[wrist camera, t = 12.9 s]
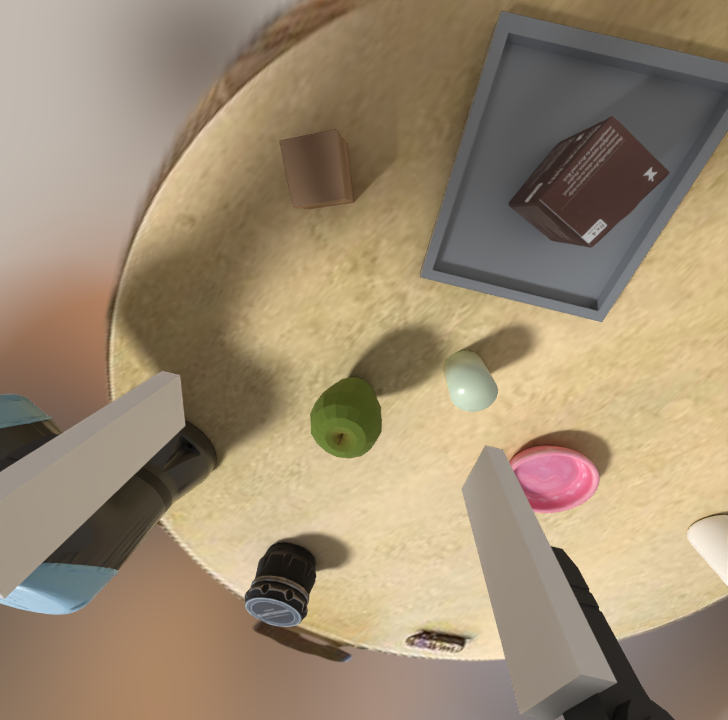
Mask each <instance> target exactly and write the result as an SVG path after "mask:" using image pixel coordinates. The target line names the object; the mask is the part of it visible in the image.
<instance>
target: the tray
mask: <svg viewBox="0 0 728 720" xmlns="http://www.w3.org/2000/svg"><path fill="white" fill-rule="evenodd" d="M611 116H614V117H615V118H616V119H617V120H618V121H619V122H620V123H622V125H623V126H624V127H625V128H626V129H627V130H628V131H629V132H630V133H631V134H632V135H633V136H634V137H635V138H636V139H637V140H638V141H639V142H640V143H641V144H642V145H643V146H644V147H645V148H646V149H647V150H648V151H649V152H650V153H651V154H652V155H653V156H654V157H655V158H656V159H657V160H658V161H659V162H660V163H661V164H662V165H663V166H664V167H665V168H666V169H667V170H668V171H669V172H670V173H669V174H668V176H667V177H666V178H665V179H664V180H663V181H662V182H661V183H660V184H659V185H657V186H656V187H655V188H654V189H653V190H652V191H651V192H650V193H649V194H648V195H647V196H646V197H645V198H644V199H643V200H642V201H641V202H640V203H639V204H638V205H637V206H636V208H635V209H634V210H633V211H632V212H631V213H630V214H629V215H628V216H626V217H625V218H624V219H622V220H621V221H620V222H619V223H618V224H617V225H616V226H615V227H613V229H612V230H610V231H609V233H607V234H606V235H605V236H604V237H603V238H602V239H601V240H600V241H599V242H598V243H597V244H596V245H595V246H594V247H592V248H590V247H585V246H579V245H573V244H567V243H561V242H554V241H551V240H549V239H548V238H547V237H545V236H544V235H543V234H542V233H541V232H540V231H539V230H537V229H536V228H535V227H534V226H533V225H532V224H530V223H529V222H528V221H527V220H526V219H524V218H523V217H522V216H521V215H520V214H518V213H517V212H516V211H515V210H513V209H512V208H511V207H510V206H509V202H510V201H511V199H512V198H513V197H514V196H515V195H516V193H517V192H518V191H519V189H520V188H521V187H522V186H523V184H524V183H525V182H526V181H527V179H528V178H529V177H530V176H531V175H532V173H533V172H534V171H535V170H536V169H537V167H538V166H539V165H540V164H541V163H542V162H543V160H544V159H545V158H546V157H547V156H548V154H549V153H550V152H551V151H552V150H553V148H554V147H555V146H556V145H557V144H558V143H559V142H560V141H563V140H565V139H567V138H569V137H571V136H573V135H575V134H577V133H579V132H581V131H583V130H585V129H587V128H589V127H591V126H593V125H595V124H597V123H599V122H601V121H604V120H606V119H607V118H609V117H611ZM727 131H728V63H726V62H721V61H717V60H713V59H708V58H704V57H700V56H695V55H691V54H687V53H682V52H678V51H674V50H669V49H665V48H661V47H656V46H652V45H648V44H643V43H639V42H635V41H630V40H626V39H621V38H617V37H613V36H608V35H604V34H600V33H595V32H591V31H587V30H582V29H578V28H574V27H569V26H565V25H561V24H556V23H552V22H548V21H543V20H539V19H535V18H530V17H526V16H522V15H517V14H513V13H509V12H504V11H501V13H500V15H499V18H498V20H497V22H496V24H495V26H494V30H493V33H492V36H491V40H490V43H489V46H488V50H487V53H486V56H485V60H484V63H483V66H482V69H481V73H480V76H479V79H478V83H477V86H476V89H475V93H474V96H473V99H472V103H471V106H470V109H469V112H468V116H467V119H466V122H465V126H464V129H463V132H462V136H461V139H460V142H459V146H458V149H457V152H456V156H455V159H454V162H453V165H452V169H451V172H450V175H449V179H448V182H447V185H446V189H445V192H444V195H443V199H442V202H441V205H440V209H439V212H438V215H437V218H436V222H435V225H434V228H433V232H432V235H431V238H430V242H429V245H428V248H427V252H426V255H425V258H424V261H423V265H422V268H421V271H420V277H422V278H426V279H430V280H434V281H438V282H442V283H446V284H450V285H454V286H458V287H462V288H466V289H470V290H474V291H478V292H482V293H486V294H490V295H494V296H498V297H502V298H506V299H510V300H514V301H518V302H522V303H526V304H531V305H535V306H539V307H543V308H547V309H551V310H555V311H559V312H563V313H567V314H571V315H575V316H579V317H583V318H587V319H591V320H595V321H599V322H602V321H603V320H604V318H605V317H606V315H607V314H608V312H609V311H610V309H611V308H612V306H613V305H614V303H615V302H616V300H617V299H618V297H619V295H620V294H621V292H622V291H623V289H624V288H625V286H626V285H627V283H628V282H629V280H630V279H631V277H632V276H633V274H634V273H635V271H636V270H637V268H638V267H639V265H640V263H641V262H642V260H643V259H644V257H645V256H646V254H647V253H648V251H649V250H650V248H651V247H652V245H653V244H654V242H655V241H656V239H657V238H658V236H659V234H660V233H661V231H662V230H663V228H664V227H665V225H666V224H667V222H668V221H669V219H670V218H671V216H672V215H673V213H674V212H675V210H676V209H677V207H678V206H679V204H680V202H681V201H682V199H683V198H684V196H685V195H686V193H687V192H688V190H689V189H690V187H691V186H692V184H693V183H694V181H695V180H696V178H697V177H698V175H699V173H700V172H701V170H702V169H703V167H704V166H705V164H706V163H707V161H708V160H709V158H710V157H711V155H712V154H713V152H714V151H715V149H716V148H717V146H718V144H719V143H720V141H721V140H722V138H723V137H724V135H725V134H726V132H727Z"/></svg>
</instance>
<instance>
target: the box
mask: <svg viewBox="0 0 728 720" xmlns="http://www.w3.org/2000/svg"><path fill="white" fill-rule="evenodd" d="M669 173H670V172H669V171H668V170H667V169H666V168H665V167H664V166H663V165H662V164H661V163H660V162H659V161H658V160H657V159H656V158H655V157H654V156H653V155H652V154H651V153H650V152H649V151H648V150H647V149H646V148H645V147H644V146H643V145H642V144H641V143H640V142H639V141H638V140H637V139H636V138H635V137H634V136H633V135H632V134H631V133H630V132H629V131H628V130H627V129H626V128H625V127H624V126H623V125H622V123H620V122H619V121H618V120H617V119H616V118H615V117H614V116H611V117H609V118H607V119H606V120H604V121H601V122H599V123H597V124H595V125H593V126H591V127H589V128H587V129H585V130H583V131H581V132H579V133H577V134H575V135H573V136H571V137H569V138H567V139H565V140H563V141H560V142H559V143H558V144H557V145H556V146H555V147H554V148H553V150H552V151H551V152H550V153H549V154H548V156H547V157H546V158H545V159H544V160H543V162H542V163H541V164H540V165H539V166H538V167H537V169H536V170H535V171H534V172H533V173H532V175H531V176H530V177H529V178H528V179H527V181H526V182H525V183H524V184H523V186H522V187H521V188H520V189H519V191H518V192H517V193H516V195H515V196H514V197H513V198H512V199H511V201H510V202H509V206H510V207H511V208H512V209H513V210H515V211H516V212H517V213H518V214H520V215H521V216H522V217H523V218H524V219H526V220H527V221H528V222H529V223H530V224H532V225H533V226H534V227H535V228H536V229H537V230H539V231H540V232H541V233H542V234H543V235H544V236H545V237H547V238H548V239H549V240H551V241H554V242H561V243H567V244H573V245H579V246H585V247H590V248H592V247H594V246H595V245H596V244H597V243H598V242H599V241H600V240H601V239H602V238H603V237H604V236H605V235H606V234H607V233H609V231H610V230H612V229H613V227H615V226H616V225H617V224H618V223H619V222H620V221H621V220H622V219H624V218H625V217H626V216H628V215H629V214H630V213H631V212H632V211H633V210H634V209H635V208H636V206H637V205H638V204H639V203H640V202H641V201H642V200H643V199H644V198H645V197H646V196H647V195H648V194H649V193H650V192H651V191H652V190H653V189H654V188H655V187H656V186H657V185H659V184H660V183H661V182H662V181H663V180H664V179H665V178H666V177H667V176H668V174H669Z"/></svg>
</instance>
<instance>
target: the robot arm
mask: <svg viewBox="0 0 728 720" xmlns="http://www.w3.org/2000/svg"><path fill="white" fill-rule="evenodd" d="M52 419H53V418H52V417H51V416H47V415H46V414H45V413H44V412H43V411H42V410H40V409H39V408H38V407H37V406H36V405H34V404H33V403H32V402H31V401H30V400H29V399H27V398H26V397H24V396H21V395H16V394H3V395H0V603H1V604H4V605H8V606H11V607H15V608H19V609H23V610H28V611H33V612H38V613H45V614H68V613H72V612H75V611H78V610H80V609H81V608H83V607H85V606H86V605H87V604H88V603H90V602H91V601H92V600H93V599H94V598H95V596H96V595H97V594H98V593H99V592H100V591H101V590H102V589H103V588H104V587H105V585H106V584H107V583H108V582H109V581H110V580H111V579H112V578H113V577H114V576H116V574H117V573H118V572H119V571H118V570H119V569H120V568H121V567H122V565H123V564H124V562H126V561H127V559H128V558H129V557H130V556H131V554H132V553H133V552H134V550H135V549H136V548H137V547H138V546H139V544H140V543H141V542H142V541H143V540H144V538H145V537H146V536H147V535H148V533H149V532H150V531H151V530H152V528H153V527H154V526H155V525H156V523H157V522H158V521H159V520H160V519H161V517H162V516H163V515H164V514H165V512H166V511H167V510H168V509H169V507H170V506H171V505H172V504H173V503H174V502H175V501H177V500H178V499H179V498H181V497H182V496H184V495H185V494H187V493H188V492H189V491H191V490H192V489H193V488H195V487H196V486H197V485H199V484H200V483H202V482H203V481H204V480H205V479H206V478H207V477H208V475H209V474H210V473H211V472H212V470H213V469H214V467H215V465H216V454H215V451H214V448H213V446H212V444H211V443H210V441H209V440H208V439H207V437H206V436H205V435H204V434H203V433H202V432H201V431H200V430H198V429H197V428H196V427H194V426H193V425H191V424H190V423H188V422H186V421H185V417H184V408H183V398H182V389H181V379H180V375H178V374H174V373H170V372H165V371H161V372H159V373H158V374H156V375H155V376H153V377H151V378H150V379H148V380H147V381H145V382H143V383H142V384H140V385H139V386H137V387H135V388H134V389H132V390H131V391H129V392H127V393H126V394H124V395H123V396H121V397H119V398H118V399H116V400H115V401H113V402H111V403H110V404H108V405H107V406H105V407H103V408H102V409H100V410H99V411H97V412H95V413H94V414H92V415H91V416H89V417H87V418H86V419H84V420H83V421H81V422H79V423H78V424H76V425H75V426H73V427H72V428H70V429H68V430H67V431H65V432H63V431H62V430H61V429H60V427H59V426H57V424H56V423H55V422H54V421H53V420H52ZM462 493H463V497H464V500H465V504H466V508H467V512H468V516H469V520H470V524H471V527H472V531H473V535H474V539H475V543H476V547H477V551H478V554H479V558H480V562H481V566H482V570H483V574H484V578H485V581H486V585H487V589H488V593H489V597H490V601H491V605H492V608H493V612H494V616H495V620H496V624H497V628H498V632H499V635H500V639H501V643H502V647H503V651H504V655H505V659H506V662H507V666H508V670H509V674H510V678H511V682H512V686H513V689H514V693H515V697H516V701H517V705H518V709H519V713H520V715H522V716H526V717H531V718H535V719H540V720H554V719H556V718H557V717H559V716H561V715H562V714H563V716H564V719H565V720H674V719H673V718H672V717H671V716H670V714H669V713H668V712H667V711H665V710H664V709H662V708H661V707H660V706H659V705H657V704H656V703H655V702H653V701H651V700H650V698H649V697H648V695H647V694H646V692H645V691H644V689H643V687H642V686H641V684H640V682H639V680H638V678H637V676H636V675H635V673H634V671H633V669H632V667H631V665H630V663H629V662H628V660H627V658H626V656H625V654H624V652H623V651H622V649H621V647H620V645H619V643H618V641H617V639H616V638H615V636H614V634H613V632H612V630H611V628H610V626H609V625H608V623H607V621H606V619H605V617H604V615H603V613H602V612H601V611H599V606H598V604H597V602H596V600H595V599H594V597H593V595H592V593H590V592H589V588H588V586H587V584H586V582H585V580H584V578H583V576H582V575H581V573H580V571H579V569H578V567H577V566H576V565H575V564H574V563H573V561H572V560H571V559H570V558H569V557H568V555H567V554H566V553H565V552H564V550H563V549H560V548H556V547H552V546H550V544H549V542H548V540H547V538H546V536H545V534H544V532H543V530H542V528H541V526H540V524H539V522H538V520H537V518H536V516H535V514H534V512H533V510H532V508H531V506H530V504H529V502H528V500H527V498H526V495H525V493H524V491H523V489H522V487H521V485H520V483H519V481H518V479H517V477H516V475H515V473H514V471H513V469H512V467H511V465H510V463H509V461H508V459H507V457H506V455H505V453H504V451H503V449H499V448H494V447H490V446H486V445H485V447H484V449H483V451H482V452H481V454H480V456H479V458H478V460H477V462H476V463H475V465H474V467H473V469H472V471H471V473H470V474H469V476H468V478H467V480H466V482H465V484H464V486H463V487H462Z"/></svg>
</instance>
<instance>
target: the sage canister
mask: <svg viewBox="0 0 728 720" xmlns="http://www.w3.org/2000/svg"><path fill="white" fill-rule="evenodd" d="M444 374H445V378H446V381H447V385H448V389H449V393H450V396H451V400H452V402H453V403H454V405H455V406H457V407H458V408H459V409H462V410H464V411H470V412H475V411H480V410H483V409H485V408H487V407H489V406H490V405H491V404H492V403H493V402H494V401H495V399H496V397H497V394H498V388H497V385H496V383H495V381H494V380H493V378H492V376H491V374H490V372H489V371H488V369H487V367H486V365H485V364H484V362H483V360H482V359H481V357H480V356H479V355H478V354H476V353H474V352H472V351H459V352H456V353H454V354H452V355H451V356H450V357H449V358H448V359H447V360H446V362H445V364H444Z"/></svg>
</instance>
